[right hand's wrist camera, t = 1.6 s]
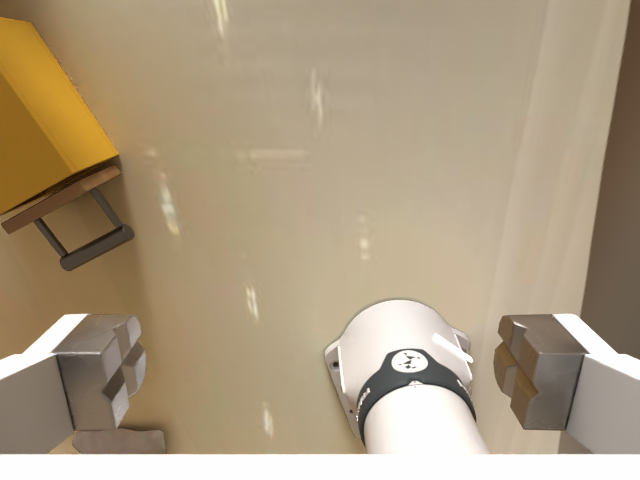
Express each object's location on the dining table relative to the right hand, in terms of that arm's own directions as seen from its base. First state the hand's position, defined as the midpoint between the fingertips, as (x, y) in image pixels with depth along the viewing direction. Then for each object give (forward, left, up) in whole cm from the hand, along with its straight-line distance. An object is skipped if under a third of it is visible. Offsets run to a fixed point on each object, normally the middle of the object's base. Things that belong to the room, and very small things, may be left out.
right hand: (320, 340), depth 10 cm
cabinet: (+5, +30, -41) cm, 51 cm away
